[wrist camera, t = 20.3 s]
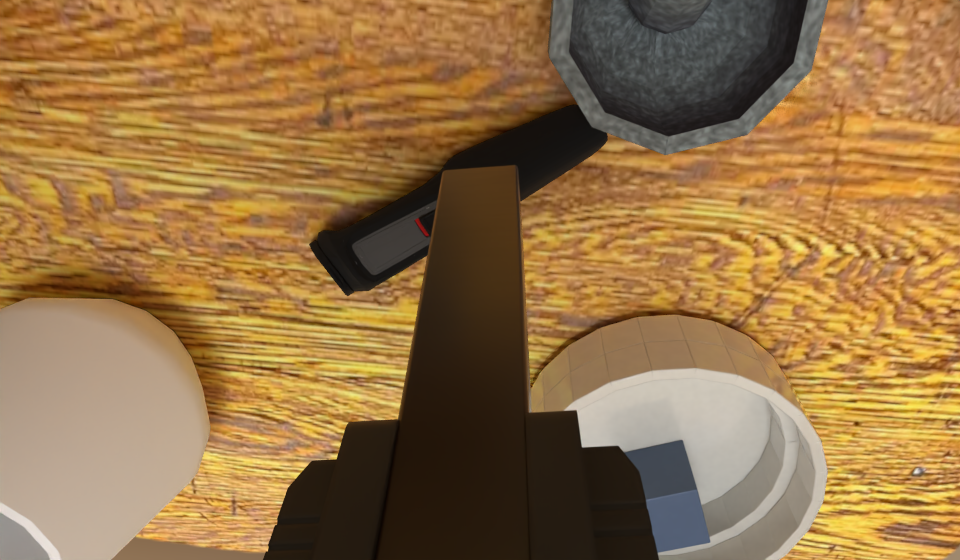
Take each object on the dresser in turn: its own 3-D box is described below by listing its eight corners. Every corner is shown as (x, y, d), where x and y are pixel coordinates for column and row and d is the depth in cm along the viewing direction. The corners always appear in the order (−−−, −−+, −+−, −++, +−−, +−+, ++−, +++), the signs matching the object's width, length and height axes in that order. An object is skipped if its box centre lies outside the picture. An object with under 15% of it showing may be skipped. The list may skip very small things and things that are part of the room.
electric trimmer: (616, 146, 36) (625, 168, 34) (350, 291, 40) (338, 321, 38) (579, 76, 35) (586, 94, 32) (307, 234, 39) (291, 261, 36)
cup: (240, 289, 41) (121, 471, 28) (228, 478, 47) (127, 694, 35) (-19, 239, 40) (-257, 404, 28) (4, 438, 46) (-181, 645, 34)
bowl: (529, 528, 48) (530, 602, 43) (509, 318, 41) (509, 379, 36) (779, 517, 47) (810, 593, 42) (804, 299, 40) (844, 359, 35)
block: (628, 504, 46) (637, 557, 42) (612, 454, 44) (621, 504, 41) (695, 490, 45) (711, 543, 42) (682, 439, 43) (697, 489, 40)
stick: (450, 236, 19) (360, 921, 7) (442, 169, 18) (322, 817, 6) (522, 231, 19) (557, 918, 7) (517, 163, 18) (548, 813, 6)
